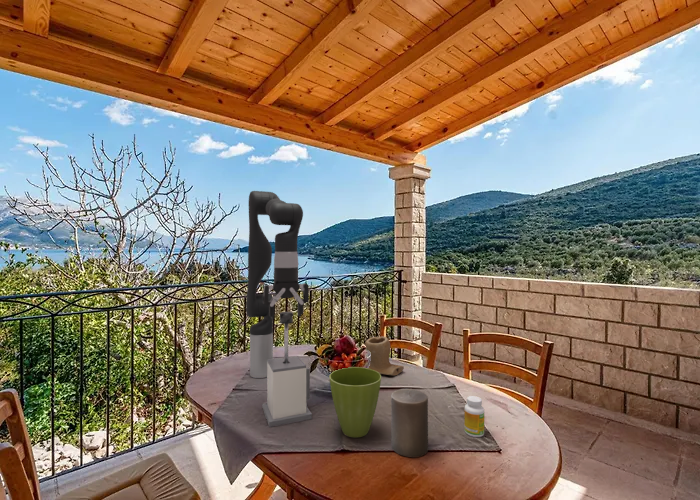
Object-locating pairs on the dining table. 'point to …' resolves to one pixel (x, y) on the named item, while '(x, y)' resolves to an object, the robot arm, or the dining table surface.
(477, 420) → the supplement bottle
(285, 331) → the plunger
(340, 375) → the flower pot
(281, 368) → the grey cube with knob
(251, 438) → the dining table surface
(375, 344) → the tan boot
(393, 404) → the pillar candle
